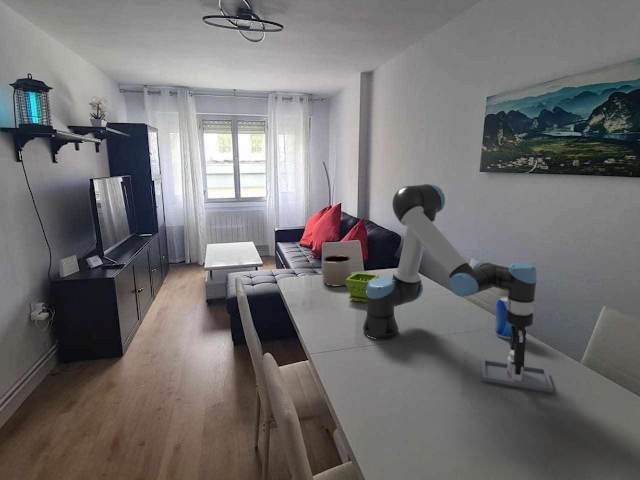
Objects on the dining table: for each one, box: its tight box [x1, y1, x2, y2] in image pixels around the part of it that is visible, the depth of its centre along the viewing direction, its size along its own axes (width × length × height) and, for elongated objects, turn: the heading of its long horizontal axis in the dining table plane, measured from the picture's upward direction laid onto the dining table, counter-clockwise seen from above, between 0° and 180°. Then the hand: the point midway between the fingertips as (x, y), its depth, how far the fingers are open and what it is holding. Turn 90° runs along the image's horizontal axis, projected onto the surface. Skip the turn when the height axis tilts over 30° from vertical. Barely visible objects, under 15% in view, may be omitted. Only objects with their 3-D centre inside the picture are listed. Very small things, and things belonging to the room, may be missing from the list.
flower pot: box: [346, 272, 380, 303], centre depth 194 cm, size 14×14×13 cm
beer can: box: [494, 295, 512, 340], centre depth 147 cm, size 8×8×16 cm
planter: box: [322, 254, 353, 286], centre depth 223 cm, size 18×18×16 cm
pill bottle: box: [507, 349, 524, 378], centre depth 119 cm, size 5×5×8 cm
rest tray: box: [481, 358, 555, 395], centre depth 120 cm, size 20×12×2 cm, turn 68°
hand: (515, 374), depth 120 cm, fingers open, 8 cm apart
